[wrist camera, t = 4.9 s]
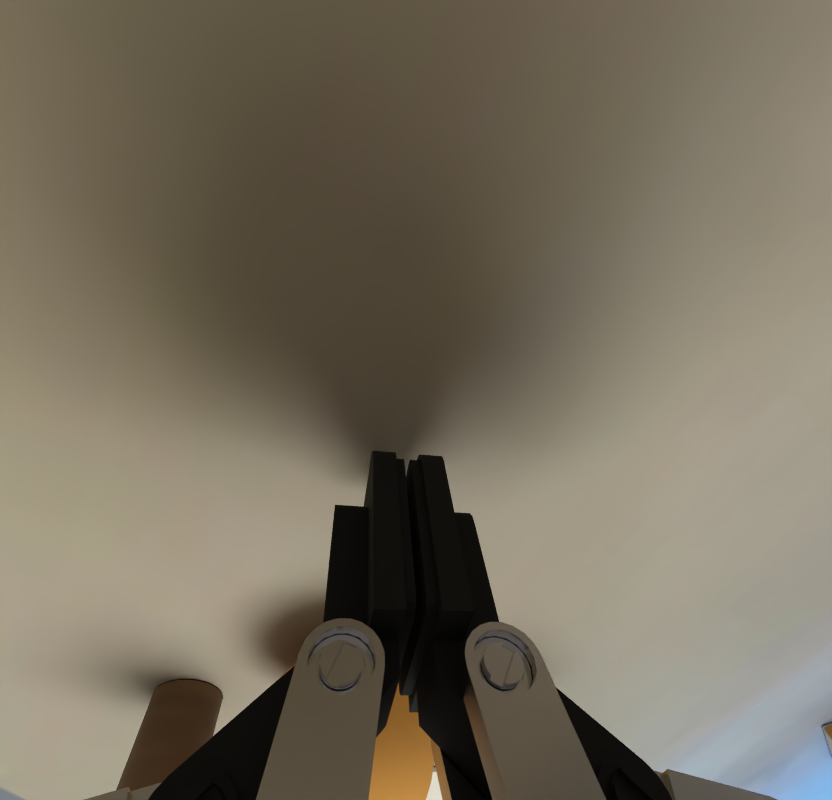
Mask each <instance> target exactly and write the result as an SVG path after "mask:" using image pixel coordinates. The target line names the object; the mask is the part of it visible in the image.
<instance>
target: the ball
mask: <svg viewBox="0 0 832 800" xmlns="http://www.w3.org/2000/svg"><path fill="white" fill-rule="evenodd" d="M295 664H296V663H295ZM295 664H294V665H295ZM294 665H293V666H294ZM293 666H292V667H293ZM292 667H291V668H292ZM291 668H290V669H291ZM290 669H289V670H290ZM289 670H287V671H286V672H288V671H289ZM286 672H285V673H286ZM285 673H284V674H285ZM284 674H283V675H284ZM283 675H282V676H283ZM433 766H434V758H433V753H432V747H431V738H430V737H429V736H428V735H427V734H426V733H425V732H424V730H423V729H422V728H421V727H420V726H419V718H418V712H409V699H408V695H400V692H399V682H398V686H397V689H396V693H395V696H394V700H393V703H392V707H391V710H390V714H389V717H388V721H387V724H386V727H385V728H384V729H383V730H382V732H381V733H380V734H379V735H378V736H377V738H376V742H375V750H374V758H373V766H372V775H371V783H370V791H369V799H368V800H426V798H427V795H428V791H429V788H430V784H431V780H432V774H433Z"/></svg>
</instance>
